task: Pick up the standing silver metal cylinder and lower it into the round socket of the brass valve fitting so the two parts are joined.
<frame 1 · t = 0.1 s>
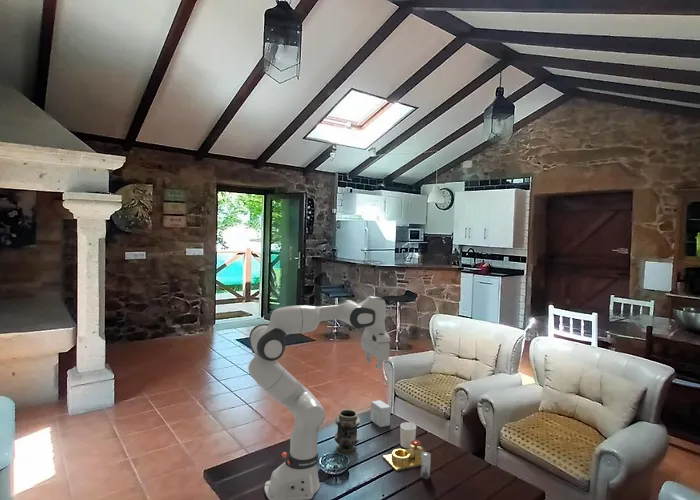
hand: (373, 364, 191), 48 cm above the table, fingers open, 8 cm apart
brass valve fitting: (400, 461, 203), on the table
skincare box: (380, 422, 242), on the table
silver metal cylinder: (425, 476, 192), on the table
white cup: (407, 445, 218), on the table
apothecary jar: (346, 449, 212), on the table
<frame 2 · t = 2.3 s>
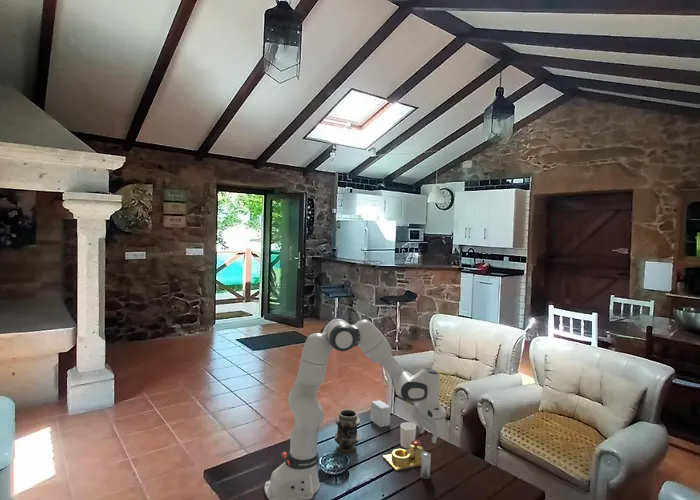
hand: (427, 437, 191), 18 cm above the table, fingers open, 8 cm apart
nothing on the table moved.
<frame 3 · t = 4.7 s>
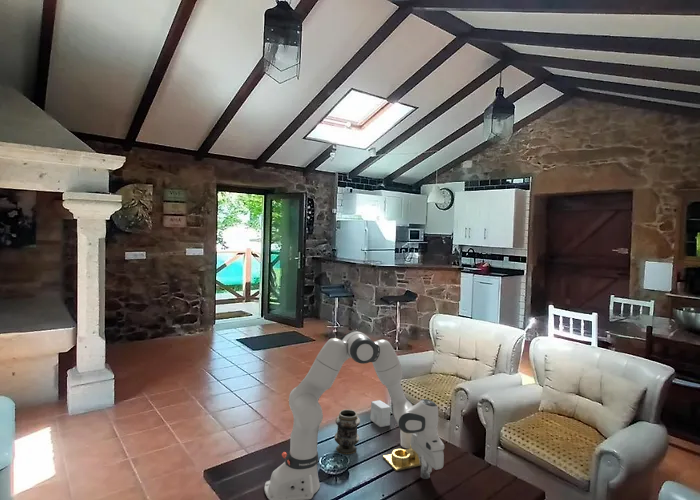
hand: (425, 468, 191), 4 cm above the table, fingers closed on silver metal cylinder, 4 cm apart
silver metal cylinder: (425, 476, 192), on the table, touching gripper
everything else where it was.
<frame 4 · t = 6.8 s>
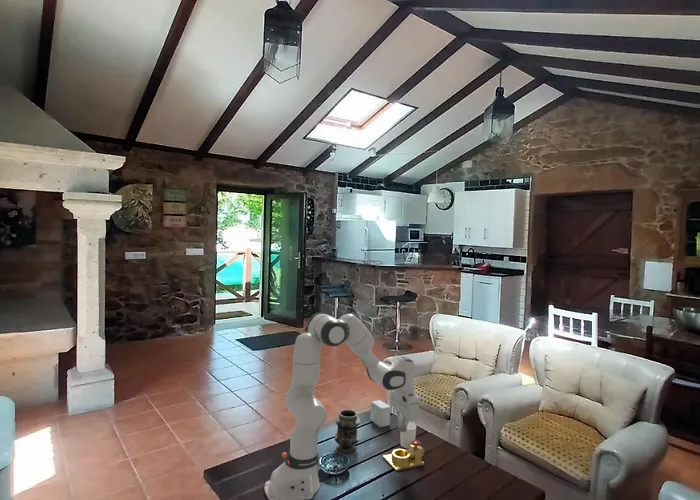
hand: (402, 422, 201), 19 cm above the table, fingers closed on silver metal cylinder, 4 cm apart
silver metal cylinder: (402, 429, 202), point 15 cm above the table, touching gripper
everything else where it was.
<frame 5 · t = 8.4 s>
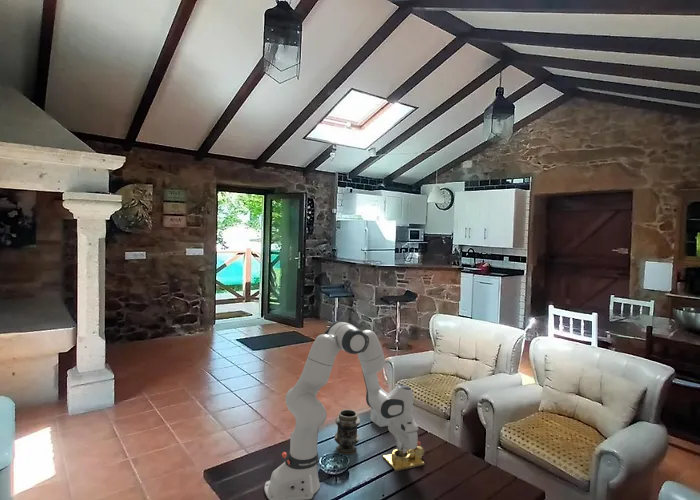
hand: (401, 449, 202), 6 cm above the table, fingers closed on silver metal cylinder, 4 cm apart
silver metal cylinder: (401, 456, 203), point 2 cm above the table, touching gripper
everything else where it was.
when the fingers open (6 cm above the table, at t = 9.4 s): silver metal cylinder stays where it is, resting on brass valve fitting.
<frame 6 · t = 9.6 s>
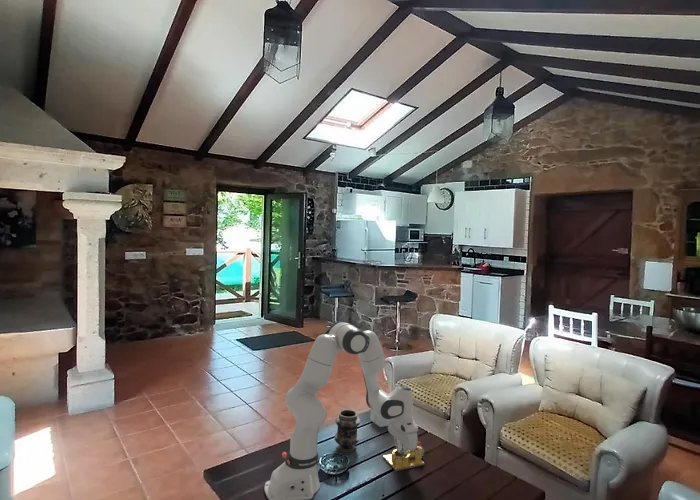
hand: (401, 450, 202), 6 cm above the table, fingers open, 5 cm apart
silver metal cylinder: (400, 459, 203), point 1 cm above the table, touching brass valve fitting
everything else where it was.
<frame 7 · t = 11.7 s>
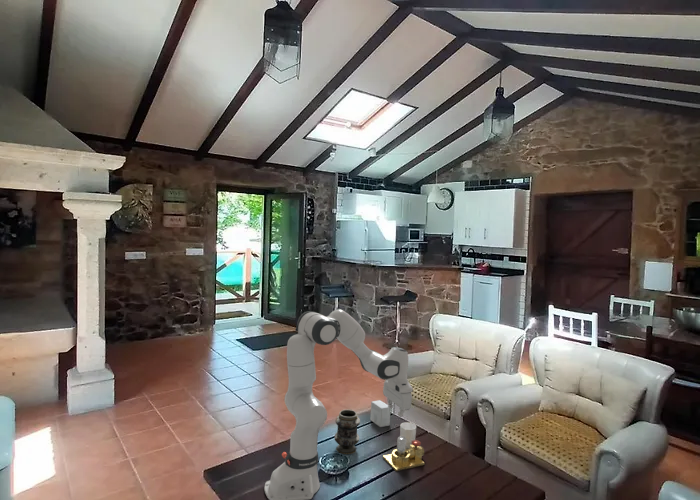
hand: (395, 412, 203), 23 cm above the table, fingers open, 8 cm apart
nothing on the table moved.
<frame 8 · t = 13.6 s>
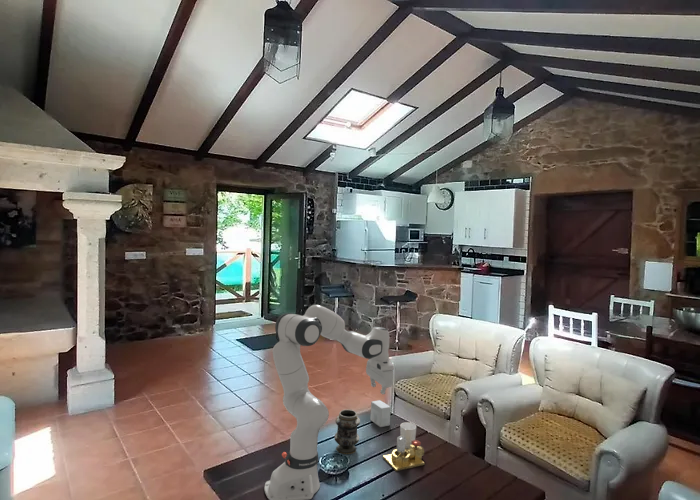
hand: (378, 390, 207), 31 cm above the table, fingers open, 8 cm apart
nothing on the table moved.
at the end: silver metal cylinder 0.0 cm off-centre on the brass valve fitting, point 1.0 cm above the brass valve fitting's base; silver metal cylinder tilted 1°; the gripper is holding nothing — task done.
